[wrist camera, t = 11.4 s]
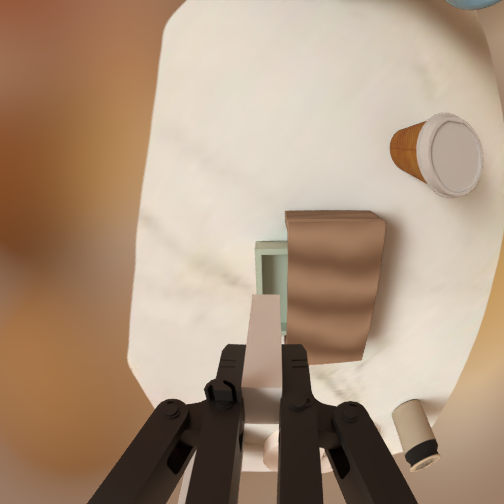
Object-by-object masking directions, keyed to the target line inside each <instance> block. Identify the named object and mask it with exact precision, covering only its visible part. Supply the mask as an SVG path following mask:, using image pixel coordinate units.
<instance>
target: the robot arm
mask: <svg viewBox="0 0 504 504" xmlns="http://www.w3.org/2000/svg"><path fill="white" fill-rule="evenodd" d="M445 1H446V2H447V3H449V4H450V5H452V6H454V7H456V8H460V9H462V10H479V9H483V8H486V7H489V6H492V5H494V4H496V3H498V2H500V1H502V0H445ZM204 391H205V395H206V398H207V399H206V400H204V401H202V402H199V403H194V404H187V405H185V403H184V402H182V401H180V400H177V399H167V400H165V401H163V402H161V403H160V404H159V405H158V406H157V407H156V409H155V410H154V412H153V413H152V415H151V416H150V417H149V419H148V420H147V422H146V423H145V424H144V426H143V427H142V429H141V430H140V431H139V433H138V434H137V436H136V437H135V438H134V440H133V441H132V443H131V444H130V445H129V447H128V448H127V449H126V451H125V452H124V454H123V455H122V456H121V458H120V459H119V461H118V462H117V463H116V465H115V466H114V468H113V469H112V470H111V472H110V473H109V474H108V476H107V477H106V479H105V480H104V481H103V483H102V484H101V485H100V487H99V488H98V489H97V491H96V492H95V494H94V495H93V497H92V498H91V499H90V500H89V502H88V503H87V504H166V502H167V501H168V499H169V497H170V496H171V494H172V492H173V491H174V489H175V487H176V485H177V483H178V482H179V480H180V478H181V477H182V475H183V473H184V471H185V469H186V468H187V466H188V464H189V462H190V460H191V459H192V457H193V455H194V453H195V451H196V454H195V459H194V463H193V468H192V473H191V477H190V482H189V487H188V491H187V496H186V501H185V504H237V502H238V492H239V483H240V474H241V464H242V455H243V445H244V435H245V434H244V423H250V424H279V436H278V484H277V504H323V489H322V473H321V460H320V448H324V450H325V453H326V455H327V458H328V460H329V462H330V465H331V467H332V470H333V472H334V475H335V477H336V479H337V482H338V484H339V486H340V489H341V491H342V494H343V496H344V499H345V501H346V503H347V504H418V503H417V501H416V499H415V497H414V495H413V494H412V491H411V490H410V488H409V486H408V484H407V482H406V480H405V478H404V477H403V475H402V473H401V471H400V469H399V468H398V466H397V464H396V462H395V460H394V458H393V457H392V455H391V453H390V451H389V449H388V448H387V446H386V444H385V442H384V440H383V439H382V437H381V435H380V433H379V432H378V430H377V428H376V426H375V425H374V423H373V421H372V419H371V418H370V416H369V414H368V412H367V410H366V409H365V408H364V407H363V406H362V405H361V404H359V403H357V402H352V401H349V402H344V403H342V404H339V405H338V406H337V407H336V406H331V405H326V404H323V403H321V402H319V401H318V400H316V399H315V398H314V396H313V394H312V391H311V382H310V374H309V365H308V357H307V351H306V350H305V348H304V347H303V345H302V344H281V316H280V295H252V304H251V312H250V320H249V328H248V336H247V344H246V345H238V344H228V345H227V346H226V347H225V348H224V349H223V351H222V354H221V358H220V363H219V367H218V372H217V376H216V379H214V380H211V381H210V382H209V383H207V384H206V386H205V388H204Z"/></svg>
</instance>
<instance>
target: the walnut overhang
mask: <svg viewBox="0 0 504 504" xmlns="http://www.w3.org/2000/svg"><path fill="white" fill-rule="evenodd" d="M285 223H286V227H287V231H288V273H287V329H286V335H284V344H302V345H303V347H304V348H305V350H306V351H307V357H308V365H316V364H329V363H341V362H351V361H360V360H362V357H363V353H364V349H365V345H366V341H367V336H368V332H369V328H370V323H371V319H372V314H373V309H374V304H375V298H376V293H377V287H378V281H379V275H380V268H381V261H382V254H383V246H384V237H385V228H386V222H385V221H383V220H382V219H381V218H379V217H378V216H376V215H375V214H374V213H372V212H371V211H355V210H316V211H285Z"/></svg>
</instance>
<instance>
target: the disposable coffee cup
mask: <svg viewBox="0 0 504 504" xmlns="http://www.w3.org/2000/svg"><path fill="white" fill-rule="evenodd" d="M390 154H391V157H392V160H393V161H394V163H395V164H396V166H397V167H399V168H400V169H401V170H403V171H405V172H407V173H409V174H411V175H412V176H414V177H416V178H418V179H419V180H421V181H423V182H425V183H426V184H428V186H429V187H430V188H431V189H432V190H433V191H434V192H436V193H437V194H439V195H440V196H443V197H446V198H456V197H459V196H462V195H466V194H467V193H469V192H470V191H472V190H473V189H474V188H475V186H476V185H477V183H478V181H479V179H480V176H481V173H482V169H483V152H482V147H481V144H480V141H479V138H478V136H477V134H476V132H475V131H474V129H473V128H472V127H471V126H470V125H469V124H468V123H467V122H466V121H464V120H463V119H461V118H459V117H458V116H456V115H454V114H450V113H439V114H436V115H434V116H432V117H431V118H430V119H428V120H427V121H425V122H422V123H419V124H416V125H413V126H410V127H407V128H405V129H401V130H399V131H398V132H396V133H395V134H394V136H393V137H392V139H391V143H390Z"/></svg>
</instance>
